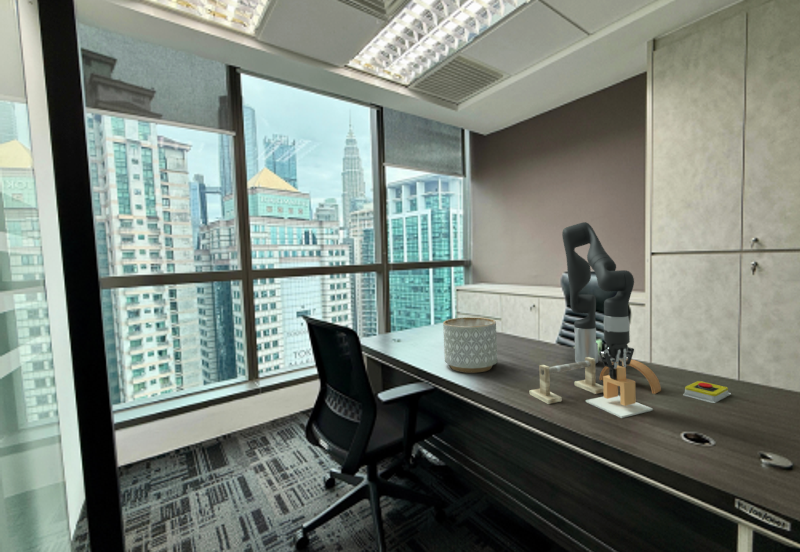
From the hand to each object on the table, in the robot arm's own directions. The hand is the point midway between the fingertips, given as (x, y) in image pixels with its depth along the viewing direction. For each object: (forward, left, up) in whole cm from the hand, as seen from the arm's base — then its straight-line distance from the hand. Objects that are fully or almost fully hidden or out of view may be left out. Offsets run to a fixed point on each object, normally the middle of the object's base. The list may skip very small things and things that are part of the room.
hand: (617, 377), depth 121 cm
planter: (+22, -62, -10) cm, 67 cm away
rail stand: (+6, -16, -10) cm, 20 cm away
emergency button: (-36, +6, -11) cm, 38 cm away
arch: (-21, -12, -10) cm, 26 cm away
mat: (0, 0, -10) cm, 10 cm away
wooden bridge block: (0, +1, -8) cm, 8 cm away
